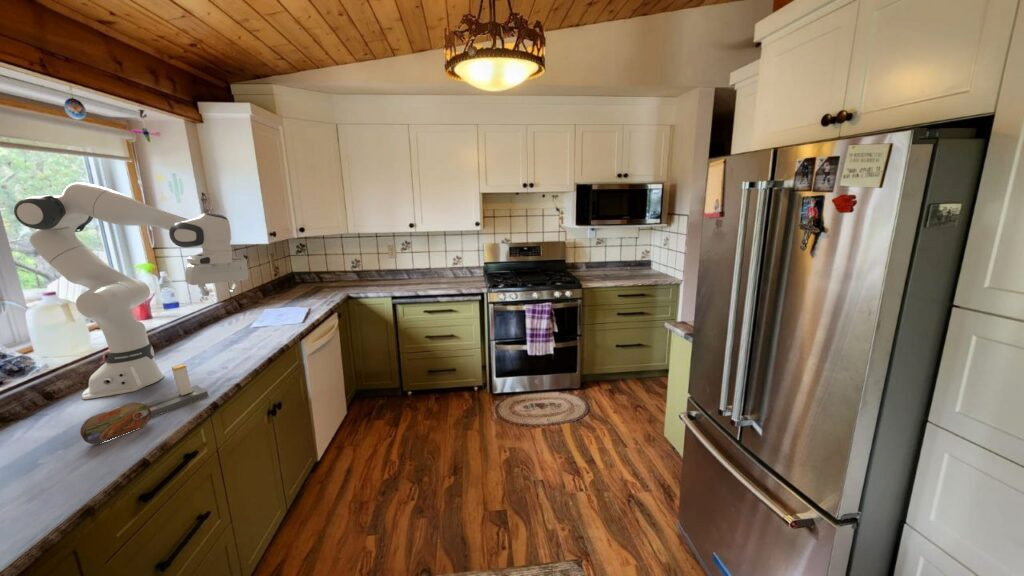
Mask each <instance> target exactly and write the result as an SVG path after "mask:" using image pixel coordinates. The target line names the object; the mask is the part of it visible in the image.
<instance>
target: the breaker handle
mask: <svg viewBox="0 0 1024 576" xmlns="http://www.w3.org/2000/svg"><path fill="white" fill-rule="evenodd" d="M171 370H172V374H173V377H174V380H175V385H176V390H177V392H178V394H180V395H185V394H188V393H191V392H192V388H191V387H192V385H191V381H190V377H189V373H188V369H187V365H186V364H184V363H180V364H177V365H174V366H171Z"/></svg>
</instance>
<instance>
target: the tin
mask: <svg viewBox="0 0 1024 576" xmlns="http://www.w3.org/2000/svg"><path fill="white" fill-rule="evenodd" d="M150 417H151V411H150V409H149V407H148V406H146V405H145V403H141V402H136V401H135V402H134V401H133V402H127V403H125V404H123V405H120V406H117V407H114V408H111V409H109V410H106V411H103V412H99V413H97V414H94V415H92V416H90V417H89V418H87V420H85V421H84V422H83V423H82V425H81V428H80V430H79V431H80V436H81V438H82V439H83V441H84V442H86V443H88V444H91V445H101V444H100V443H102V442H104V441H107V440H110V439H112V438H115V437H118V436H121V435H123V434H126V433H128V432H131V431H133V430H136V429H138V428H140V429H142V428H144V427H145V426H146V425H147V423H148V422H149V421H150V419H151V418H150ZM143 426H144V427H143ZM141 427H142V428H141ZM136 431H137V430H136ZM131 433H132V432H131ZM126 435H127V434H126ZM121 437H122V436H121Z"/></svg>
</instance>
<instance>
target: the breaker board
mask: <svg viewBox="0 0 1024 576" xmlns="http://www.w3.org/2000/svg"><path fill="white" fill-rule="evenodd" d="M191 388H192V392H191V393H188V394H185V395H180V394H178V391H176V392H173V393H171V394H168V395H165V396H162V397H159V398H157V399H153V400H150V401H148V402H145V403H144V404H145V405H146V406H148V407H149V409H150V411H151V417H152V418H154V416H155V417H157V416H160V415H162V414H161V413H163V414H165V413H167V411H168V412H170V411H173V410H175V408H176V409H178V408H180V406H181V407H184V406H186V405H188V404H191V402H192V403H193V402H194V403H195V402H197V401H199V399H200V400H202V399H204V398H208V397H209V392H208V390H206V389H204V387H203V388H202V387H201V386H199V385H197V384H196V385H193V386H191ZM207 396H208V397H207ZM183 405H184V406H183ZM164 412H165V413H164ZM159 414H160V415H159ZM156 415H157V416H156ZM151 417H150V419H151Z"/></svg>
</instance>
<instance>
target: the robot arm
mask: <svg viewBox="0 0 1024 576" xmlns="http://www.w3.org/2000/svg"><path fill="white" fill-rule="evenodd" d="M13 213H14V216H15V218H16V220H17V221H18V222H19V223H20V224H21V225H23V226H24V227H27V228H29V229H34V230H35V231H33V232H32V233H31V235H30V236H29V242H30V244H31V245H32V247H33V249H35V251H36V252H37V254H39V256H41V257H42V259H44V261H45V262H46V263H48V264H49V265H50V266H51V267H53V269H55V271H57V272H58V273H59V274H61V275H62V277H63V278H65V280H67V281H68V282H70V283H72V284H75V285H79V286H82V287H85V288H88V290H86V291H84V292H83V293H81V294H80V295H79V296H78V297H77V298H76V300H75V306H76V309H77V311H78V312H79V313H80V314H81V315H82V316H84V317H85V318H88V319H91V320H92V321H94V322H95V323H96V324H97V326H98V327H99V328H100V329H101V331H102V333H103V335H104V339H105V341H106V345H107V347H108V349H107V350H106V351H105V352H104V354H103V355H102V361H104V364H102V365H101V366H100V367H99V368H98V369H96V371H94V373H92V374H91V375H90V377H89V379H88V387H87V388H86V389H85V390H84V391H83V392H82V394H81V398H82V400H91V399H96V398H103V397H108V396H115V395H120V394H121V395H122V394H127V393H132V392H133V393H134V392H136V391H139V390H141V389H143V388H145V387H146V386H150V385H152V384H154V383H157V382H159V381H160V380H162V379H163V378H164V377H165V374H164V373H163V372H162V371H161V369H160V367H159V365H158V363H157V362H156V360H155V351H154V347H153V346H152V343H151V342H150V340H149V336H148V333H147V330H146V326H145V324H144V323H143V322H141V321H139V320H137V319H136V318H135V317H134V315H133V314H132V312H131V309H134V308H136V307H138V306H140V305H142V304H143V303H144V302H146V301H147V300H148V299H149V297H150V294H151V290H150V287H149V286H148V284H147V283H146V282H145V281H142V280H141V279H137V278H133V277H131V276H128V275H126V274H124V273H122V272H121V271H119V270H117V269H115V268H113V267H112V266H110V265H109V264H108V263H106V262H104V260H102V258H100V257H99V256H97V255H96V253H94V252H93V250H91V249H90V248H89V247H88V246H87V245H85V243H83V242H82V241H81V240H80V238H78V237H77V235H76V233H79V232H82V231H84V230H85V228H86V226H88V225H89V224H90V223H91V222H92V220H93V219H96V220H100V221H101V222H102V221H103V222H105V223H109V224H114V225H119V226H137V227H138V226H141V227H142V226H144V227H145V226H146V227H155V228H158V229H159V228H160V229H163V230H166V231H168V235H169V239H170V241H171V242H172V243H173V244H174V245H176V246H177V247H180V248H186V249H193V248H199V247H200V248H202V252H200V253H197V254H194V255H190V256H188V257H187V258H186V261H187V263H188V264H187V266H186V267H185V274H184V275H185V278H184V279H185V282H186V283H187V284H188V285H190V286H197V287H198V289H199V290H200V291H201V296H202V297H207V296H208V297H209V296H210V291H209V290H207V289H205V288H206V285H208V284H209V285H211V284H219V283H220V284H221V283H230V282H232V286H231V287H229V293H231V294H233V293H237V288H238V286H239V284H240V281H247V280H248V279H249V277H250V276H249V275H250V274H249V269H248V260H247V259H246V257H243V256H233V249H232V246H231V242H232V241H231V240H232V230H231V225H230V221H229V218H227V216H224V215H222V214H218V213H212V212H204V213H202V214H200V215H199V216H197V217H194V218H191V219H188V218H185V217H182V216H180V215H177V214H173V213H170V212H168V211H164V210H161V209H158V208H156V207H153V206H151V205H149V204H146V203H144V202H142V201H139V200H138V199H134V198H133V197H131V196H127V195H125V194H123V193H120V192H118V191H115V190H113V189H110V188H107V187H103V186H101V185H96V184H92V183H86V182H81V181H79V182H78V181H77V182H73V183H70V184H69V185H67V186H66V188H65V189H63V192H62V194H61V195H51V194H50V195H36V196H35V195H34V196H30V197H27V198H24V199H20V200H19V201H18V202H17V203H16V204H15V205H14V208H13Z"/></svg>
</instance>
